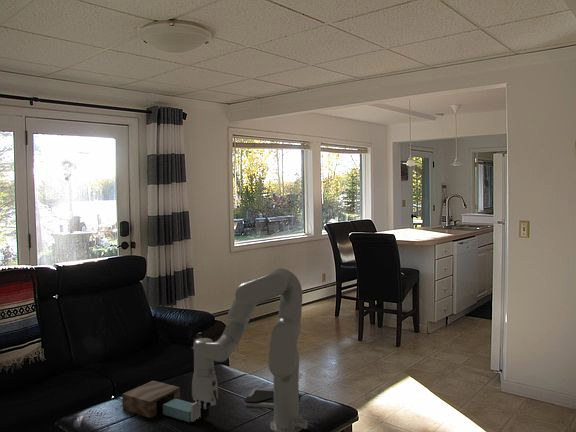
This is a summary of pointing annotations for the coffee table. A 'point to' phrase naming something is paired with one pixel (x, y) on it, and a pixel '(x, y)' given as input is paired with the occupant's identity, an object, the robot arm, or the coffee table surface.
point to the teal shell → (182, 410)
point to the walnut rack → (149, 397)
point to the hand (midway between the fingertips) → (204, 417)
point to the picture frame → (260, 398)
